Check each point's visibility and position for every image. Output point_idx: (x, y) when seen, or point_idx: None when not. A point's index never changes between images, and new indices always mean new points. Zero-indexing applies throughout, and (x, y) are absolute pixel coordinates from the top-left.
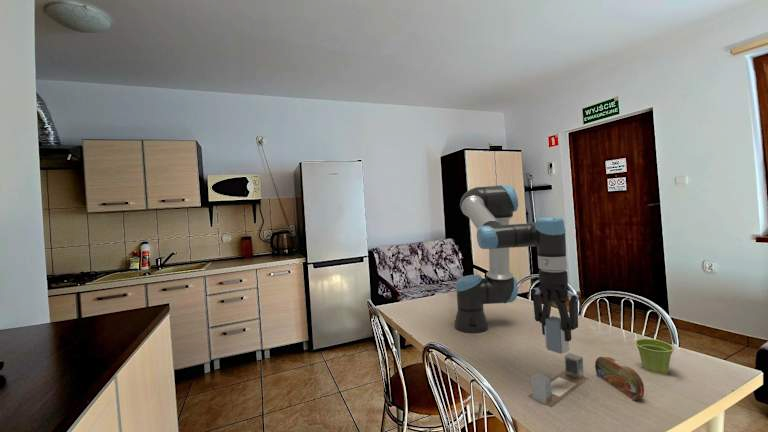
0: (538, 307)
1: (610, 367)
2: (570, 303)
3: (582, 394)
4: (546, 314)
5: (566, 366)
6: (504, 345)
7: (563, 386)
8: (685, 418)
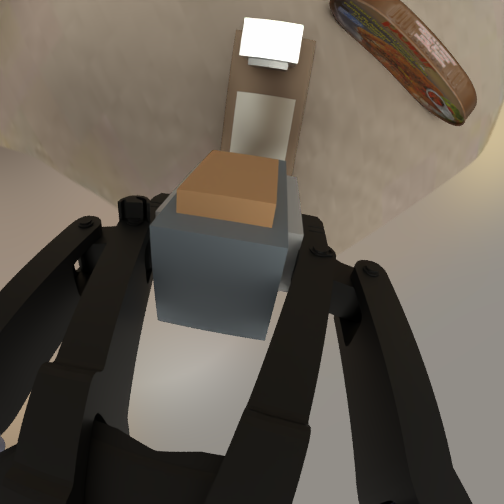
0: (55, 334)
1: (396, 38)
2: (370, 498)
3: (316, 124)
4: (141, 326)
5: (252, 66)
6: (38, 22)
7: (268, 139)
8: (496, 119)
